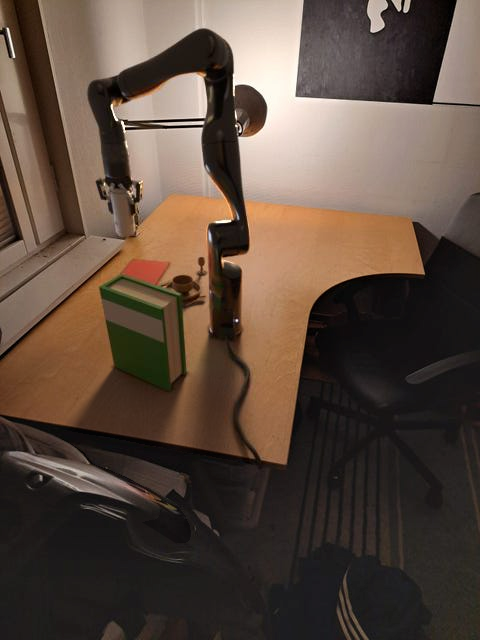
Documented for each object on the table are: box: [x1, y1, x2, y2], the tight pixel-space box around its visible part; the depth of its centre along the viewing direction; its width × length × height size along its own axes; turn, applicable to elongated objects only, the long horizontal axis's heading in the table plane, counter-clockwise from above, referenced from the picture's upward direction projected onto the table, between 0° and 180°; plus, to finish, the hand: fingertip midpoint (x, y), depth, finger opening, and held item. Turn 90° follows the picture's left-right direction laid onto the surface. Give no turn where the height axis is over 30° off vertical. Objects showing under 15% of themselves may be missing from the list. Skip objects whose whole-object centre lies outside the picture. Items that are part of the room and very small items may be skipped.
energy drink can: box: [110, 188, 136, 238], centre depth 130 cm, size 6×6×15 cm
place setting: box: [159, 256, 207, 307], centre depth 141 cm, size 18×20×6 cm
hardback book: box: [98, 273, 187, 392], centre depth 102 cm, size 18×7×24 cm, turn 61°
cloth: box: [121, 259, 170, 285], centre depth 150 cm, size 20×14×1 cm
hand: (123, 213), depth 131 cm, fingers closed on energy drink can, 6 cm apart
